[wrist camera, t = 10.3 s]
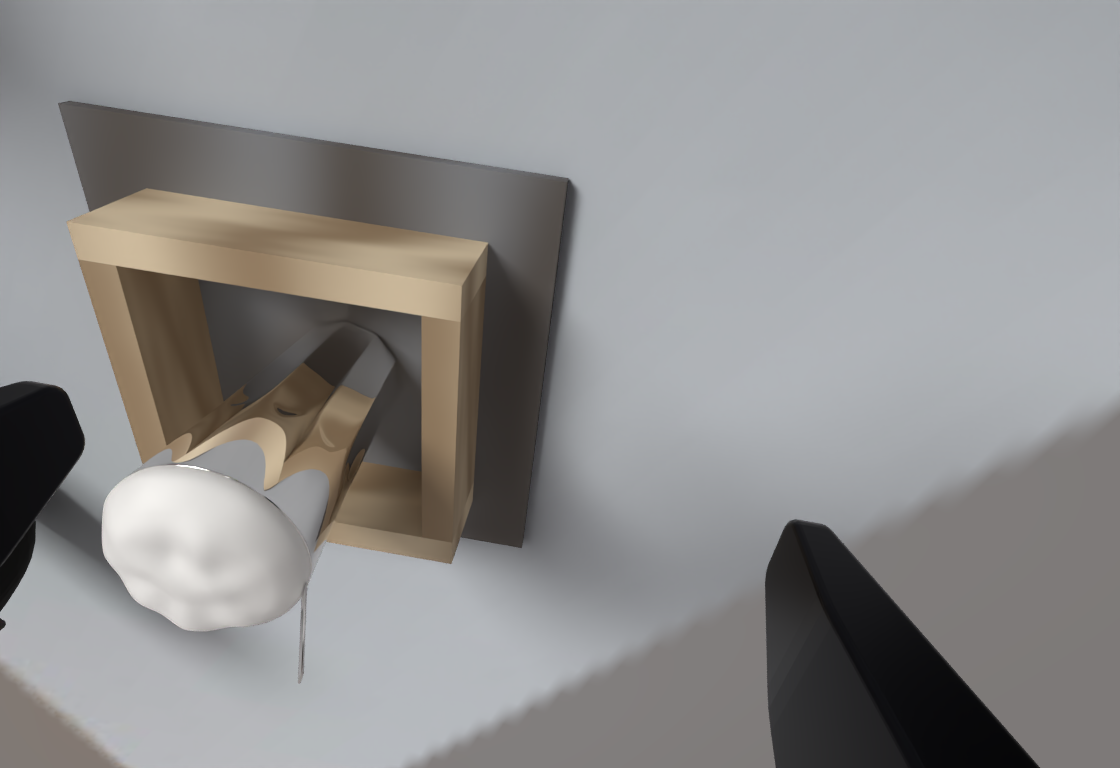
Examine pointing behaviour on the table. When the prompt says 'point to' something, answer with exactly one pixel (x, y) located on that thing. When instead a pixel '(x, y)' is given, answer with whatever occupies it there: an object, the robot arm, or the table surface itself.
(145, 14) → the table surface
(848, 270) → the table surface
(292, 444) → the milkshake
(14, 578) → the controller
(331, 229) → the wooden frame tray
